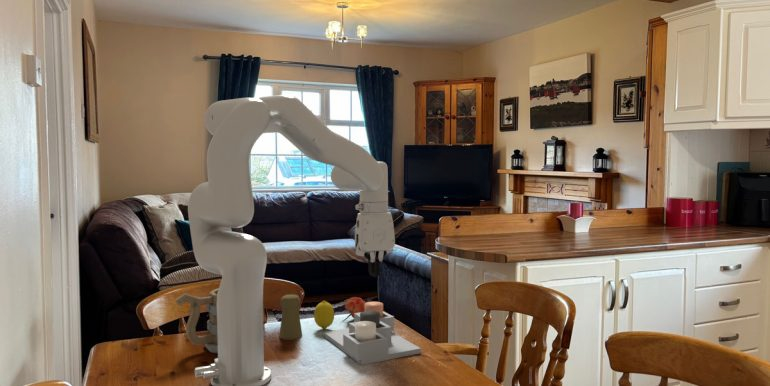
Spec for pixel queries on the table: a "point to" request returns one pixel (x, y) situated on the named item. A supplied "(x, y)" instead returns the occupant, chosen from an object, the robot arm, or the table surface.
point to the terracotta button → (374, 307)
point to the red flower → (355, 306)
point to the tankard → (195, 302)
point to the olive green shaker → (290, 318)
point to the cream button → (365, 331)
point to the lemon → (324, 314)
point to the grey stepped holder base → (372, 342)
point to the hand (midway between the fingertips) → (374, 275)
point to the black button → (371, 317)
